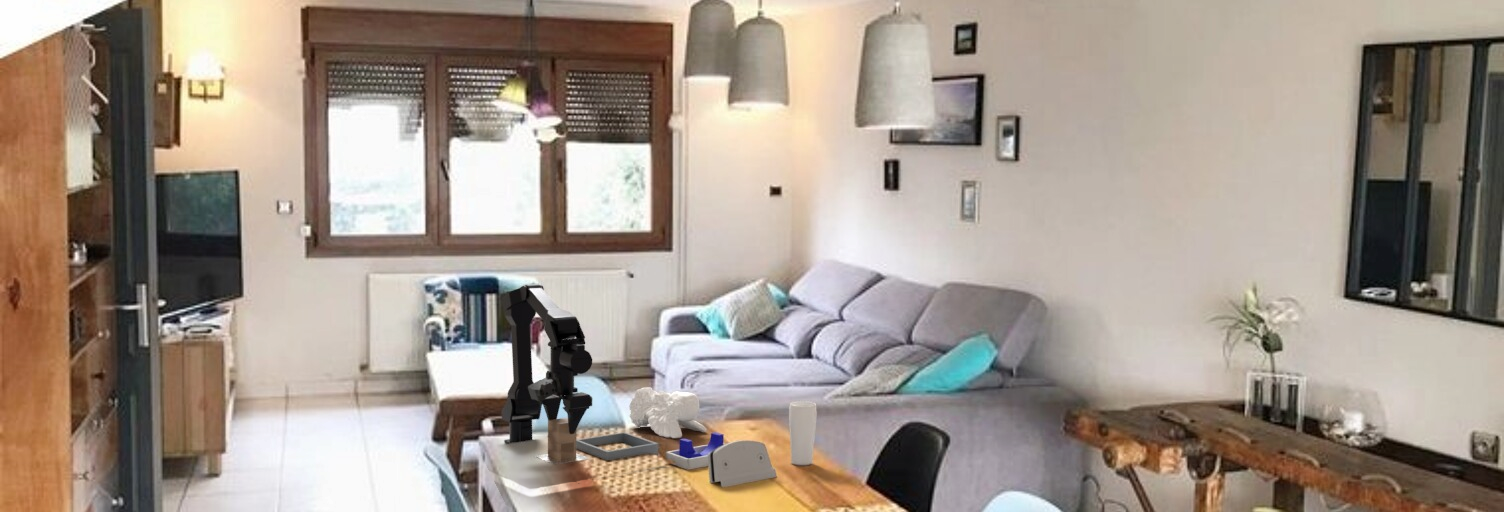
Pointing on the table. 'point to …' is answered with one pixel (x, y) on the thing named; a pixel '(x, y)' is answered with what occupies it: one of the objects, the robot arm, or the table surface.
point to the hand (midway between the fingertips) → (561, 430)
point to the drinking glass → (802, 431)
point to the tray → (636, 448)
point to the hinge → (740, 463)
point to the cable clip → (689, 452)
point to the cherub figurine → (665, 411)
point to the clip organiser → (686, 462)
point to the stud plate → (553, 461)
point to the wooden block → (561, 440)
